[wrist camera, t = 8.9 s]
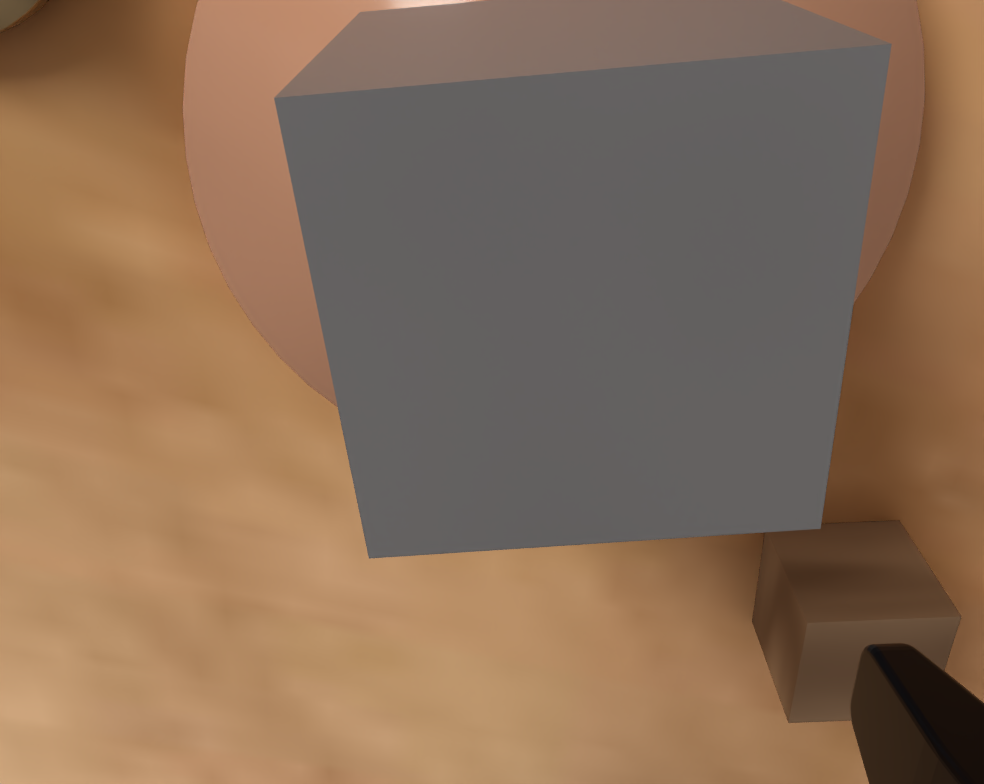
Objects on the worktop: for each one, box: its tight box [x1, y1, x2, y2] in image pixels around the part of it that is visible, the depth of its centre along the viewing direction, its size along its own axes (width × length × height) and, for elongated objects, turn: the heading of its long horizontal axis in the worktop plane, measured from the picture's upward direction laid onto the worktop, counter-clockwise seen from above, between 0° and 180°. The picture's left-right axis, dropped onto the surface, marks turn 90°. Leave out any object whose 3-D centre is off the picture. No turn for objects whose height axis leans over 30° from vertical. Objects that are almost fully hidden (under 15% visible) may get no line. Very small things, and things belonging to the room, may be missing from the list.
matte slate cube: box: [274, 0, 892, 558], centre depth 13 cm, size 6×6×7 cm
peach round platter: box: [183, 0, 925, 407], centre depth 17 cm, size 14×14×1 cm
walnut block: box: [752, 520, 961, 723], centre depth 22 cm, size 4×4×4 cm
